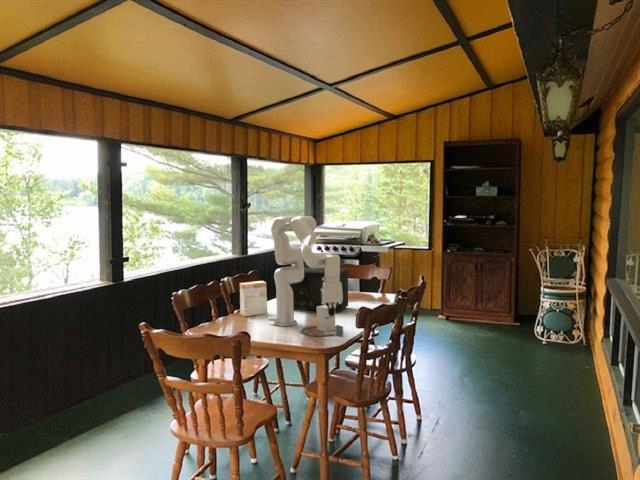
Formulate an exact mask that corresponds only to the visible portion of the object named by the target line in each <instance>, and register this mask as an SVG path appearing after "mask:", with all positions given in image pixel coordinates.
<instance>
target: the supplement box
mask: <svg viewBox="0 0 640 480" xmlns="http://www.w3.org/2000/svg"><path fill="white" fill-rule="evenodd" d="M331 307H332V306H331ZM316 325H317V327H316V330H318V331H321V332H324V333H326V332H330V331H336V329H335V326H336V313H335V314H334V316H330V315H329V314H328V307H327V306H326V305H323V306H317V310H316Z"/></svg>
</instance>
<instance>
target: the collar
mask: <svg viewBox="0 0 640 480" xmlns="http://www.w3.org/2000/svg"><path fill="white" fill-rule="evenodd" d="M313 328H317V324H315V325H314V324H313V325H309V326H304V327H302V328H301V329H300V333H301V334H303V335H305V336H309V337H315V338H316V337H317V338H318V337H324V338H325V337H332V336H339V337H343V336H344V326H343V325H339V324H337V325H336V324H335V332H332V333H324V334H323V333H322V334H321V333H320V334H319V333H316V334H315V333H310V332H307V331H306V330H308V329H313Z"/></svg>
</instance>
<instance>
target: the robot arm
mask: <svg viewBox="0 0 640 480" xmlns="http://www.w3.org/2000/svg"><path fill="white" fill-rule="evenodd" d="M316 229H317V221H316V220H315V218H314V217H313V216H310V215H283V216H282V215H281V216H278V217H275V218H274V219H273V220H272V222H271V226H270V232H271V235H272V238H273V246H274V257H275V262H276V264H277V265H280V266H283V267H280V268H276V270H274V271H275V272H274V274H273V279H274V283H275V284H274V285H275V289H276V292H275V293H276V294H275V295H276V297H275V298H276V315H275V316H273V317H272V316H269V317H268V321H270V322H273V324H274V325H275V326H281V327H289V326H290V327H291V326H295V325H297V320H296V319H295V311H294V295H293V290H292V288H291V286H290V284H292V283H299V282H301V281H302V280H303V279H304V262H305V263H306V266H308V267H310V268H313V269H315V268H325V276H324V277H323V278H322V280H324V281H325V282H323V286H322V294H321V299H322V302H321V304H323V305H326V306H327V307H328V314H329V315H330V316H334V314H335V315H336V312H335V308H336V306H337V305H338V304H341V303H342V300H343V292H342V284H341V282H340V269H341V267H340V266H341V257H340V255H338V254H332V253H330V252H316V253H313V251H312V250H311V248H310V246H311V245H313V244H314V243H315V242H316V240H317V236H316V234H315V232H314V231H315V230H316ZM285 232H287V233H288V232H293V233H294V234H295V236H296V237H297V239H298V240H299V242H300V243H301V245H300V248H299V247H296V246H291V245H290V239H289V237H288V235H287V233H285ZM286 265H291V266H286ZM284 266H285V267H284ZM331 303H332V307H331Z"/></svg>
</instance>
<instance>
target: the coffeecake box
mask: <svg viewBox="0 0 640 480" xmlns="http://www.w3.org/2000/svg"><path fill="white" fill-rule="evenodd" d="M267 290H268V289H267V281H264V280H257V281H248V282H247V281H246V282H239V305H240V307H239V308H240V309H239V310H240V315H241V316H243V317H250V316H251V317H252V316H259V315H267V314H268V298H267V296H268V294H267Z"/></svg>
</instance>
